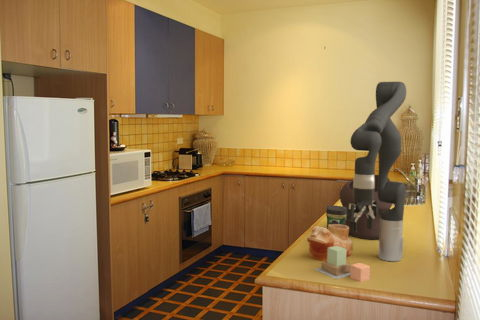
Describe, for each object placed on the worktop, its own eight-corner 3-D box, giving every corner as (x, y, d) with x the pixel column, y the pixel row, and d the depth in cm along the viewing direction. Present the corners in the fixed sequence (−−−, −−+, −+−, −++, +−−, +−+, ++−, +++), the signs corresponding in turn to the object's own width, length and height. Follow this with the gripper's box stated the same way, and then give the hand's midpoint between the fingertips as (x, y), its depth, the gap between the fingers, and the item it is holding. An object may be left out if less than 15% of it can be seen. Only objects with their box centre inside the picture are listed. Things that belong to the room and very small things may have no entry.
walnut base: (336, 266, 182) (336, 259, 182) (351, 272, 176) (351, 264, 175) (321, 269, 178) (321, 262, 178) (336, 276, 171) (336, 268, 171)
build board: (336, 266, 185) (336, 264, 185) (358, 276, 175) (359, 272, 175) (313, 272, 179) (314, 269, 178) (336, 282, 169) (336, 278, 168)
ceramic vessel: (297, 260, 192) (298, 225, 191) (332, 248, 211) (333, 216, 209) (324, 269, 183) (325, 232, 181) (359, 255, 201) (360, 222, 199)
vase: (340, 226, 252) (342, 172, 249) (392, 230, 244) (395, 175, 241) (335, 238, 227) (337, 178, 224) (392, 244, 219) (396, 182, 215)
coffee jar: (348, 244, 218) (349, 205, 216) (343, 248, 211) (344, 208, 209) (328, 241, 223) (329, 203, 221) (322, 245, 216) (324, 206, 214)
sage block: (345, 264, 176) (346, 249, 175) (336, 266, 173) (337, 251, 172) (336, 260, 180) (336, 245, 179) (327, 262, 177) (327, 247, 176)
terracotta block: (359, 278, 173) (359, 262, 173) (369, 282, 169) (370, 266, 168) (349, 280, 170) (350, 265, 170) (360, 285, 166) (361, 268, 166)
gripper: (358, 189, 159) (356, 235, 161) (385, 186, 167) (383, 230, 169) (342, 186, 165) (340, 230, 167) (369, 183, 173) (367, 225, 175)
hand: (361, 230), depth 168 cm, fingers open, 8 cm apart
